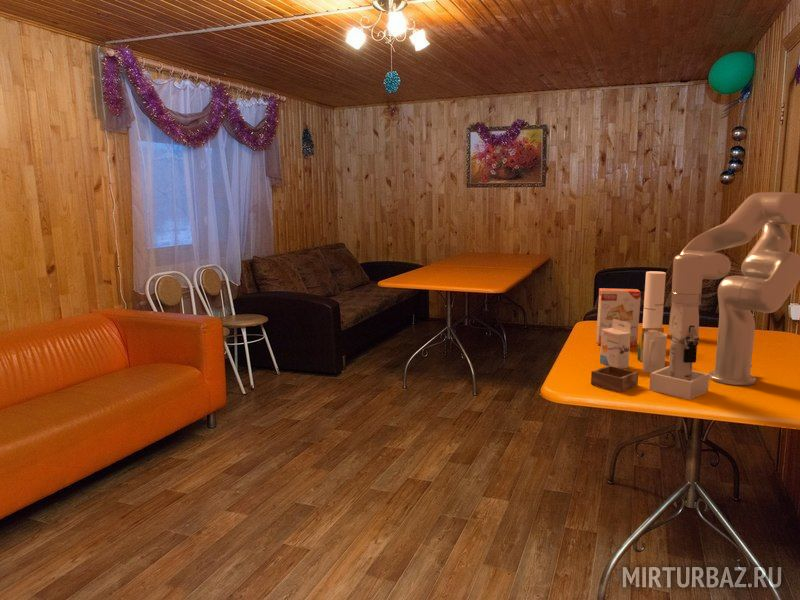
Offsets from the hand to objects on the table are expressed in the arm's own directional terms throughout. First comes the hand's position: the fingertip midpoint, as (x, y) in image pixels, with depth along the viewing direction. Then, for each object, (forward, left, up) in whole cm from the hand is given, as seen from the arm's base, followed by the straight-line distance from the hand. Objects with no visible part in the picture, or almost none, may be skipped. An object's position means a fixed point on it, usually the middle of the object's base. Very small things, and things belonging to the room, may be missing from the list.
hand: (682, 357), depth 174 cm
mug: (-11, -14, -10) cm, 21 cm away
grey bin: (+1, 0, -10) cm, 10 cm away
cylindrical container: (-60, -39, -10) cm, 73 cm away
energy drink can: (0, 0, -9) cm, 9 cm away
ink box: (-9, -26, -10) cm, 29 cm away
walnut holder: (+10, -15, -10) cm, 20 cm away
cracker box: (-35, -40, -10) cm, 54 cm away
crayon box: (-23, -21, -10) cm, 33 cm away
